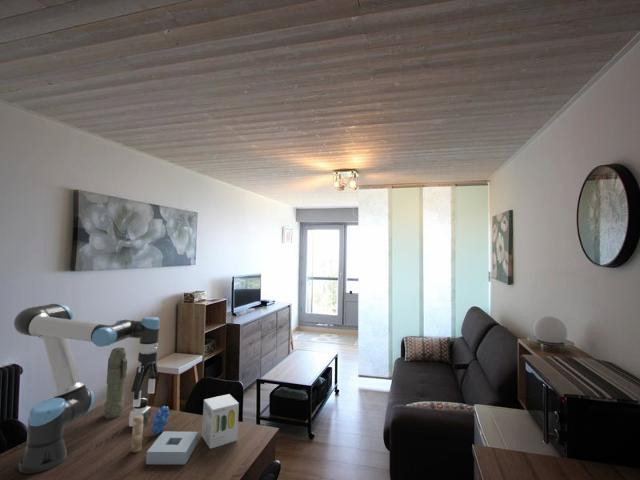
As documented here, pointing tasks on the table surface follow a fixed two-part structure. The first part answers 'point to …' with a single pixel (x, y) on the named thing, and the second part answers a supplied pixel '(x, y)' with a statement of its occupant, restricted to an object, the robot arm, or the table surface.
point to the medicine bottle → (140, 412)
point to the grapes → (160, 420)
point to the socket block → (172, 448)
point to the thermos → (115, 383)
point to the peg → (137, 434)
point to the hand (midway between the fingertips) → (143, 399)
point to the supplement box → (220, 420)
